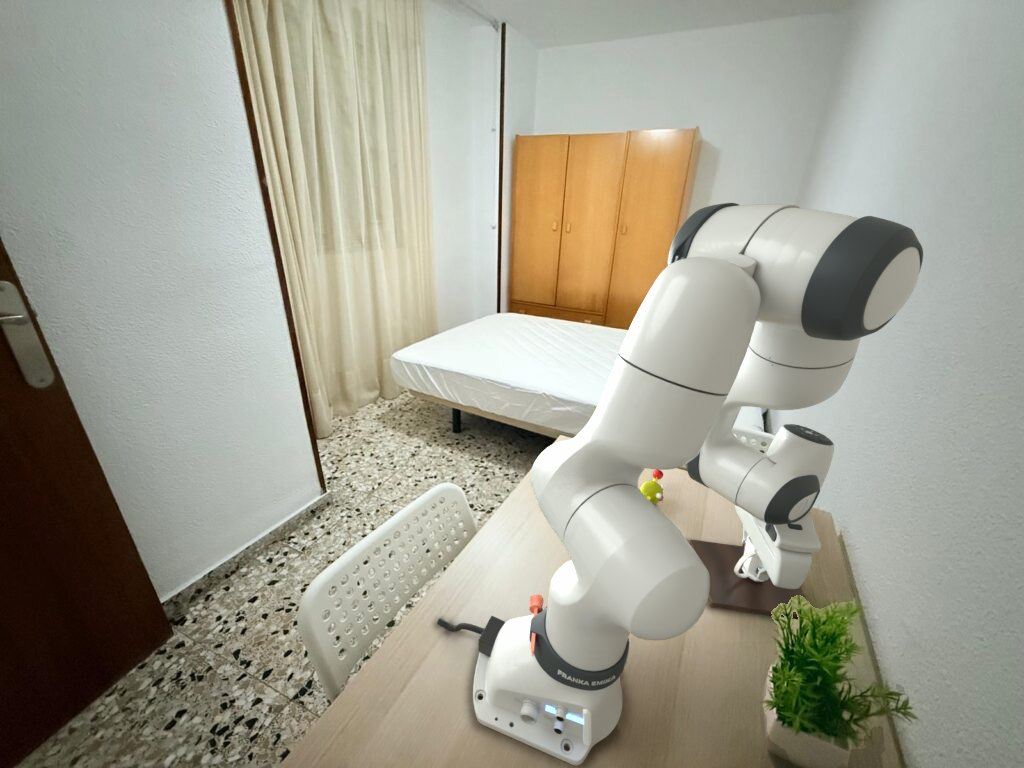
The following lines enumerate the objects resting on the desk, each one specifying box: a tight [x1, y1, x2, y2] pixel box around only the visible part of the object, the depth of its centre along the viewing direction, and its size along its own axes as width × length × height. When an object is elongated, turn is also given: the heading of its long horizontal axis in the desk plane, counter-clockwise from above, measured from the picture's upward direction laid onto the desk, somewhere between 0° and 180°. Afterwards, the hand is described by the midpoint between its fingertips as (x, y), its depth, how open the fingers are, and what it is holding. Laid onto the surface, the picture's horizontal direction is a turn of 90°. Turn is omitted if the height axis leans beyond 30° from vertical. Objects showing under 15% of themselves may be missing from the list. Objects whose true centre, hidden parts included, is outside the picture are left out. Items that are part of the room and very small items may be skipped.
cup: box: [734, 535, 764, 582], centre depth 77 cm, size 7×10×8 cm
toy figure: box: [639, 469, 666, 505], centre depth 96 cm, size 18×6×7 cm, turn 150°
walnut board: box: [689, 539, 805, 621], centre depth 80 cm, size 18×15×1 cm
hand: (753, 561), depth 78 cm, fingers closed on cup, 5 cm apart
